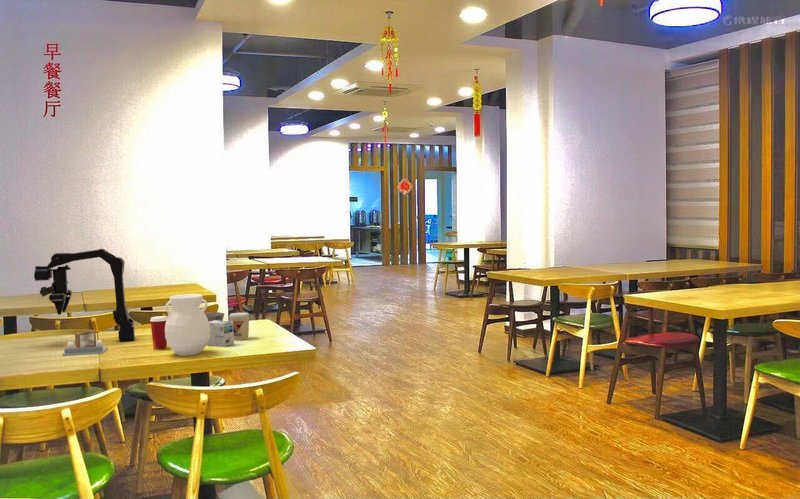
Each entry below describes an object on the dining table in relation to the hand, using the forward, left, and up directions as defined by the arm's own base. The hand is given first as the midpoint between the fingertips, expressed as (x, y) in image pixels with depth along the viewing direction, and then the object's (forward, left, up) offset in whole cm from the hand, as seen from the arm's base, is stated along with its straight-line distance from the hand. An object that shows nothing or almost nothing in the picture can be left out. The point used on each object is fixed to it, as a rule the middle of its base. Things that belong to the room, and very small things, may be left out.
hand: (61, 313), depth 317 cm
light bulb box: (-71, +28, -15) cm, 78 cm away
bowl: (-63, -5, -15) cm, 65 cm away
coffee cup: (-80, +16, -15) cm, 83 cm away
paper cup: (-45, +27, -15) cm, 55 cm away
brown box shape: (-12, +13, -15) cm, 23 cm away
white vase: (-58, +44, -15) cm, 74 cm away
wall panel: (-14, +24, -15) cm, 32 cm away
